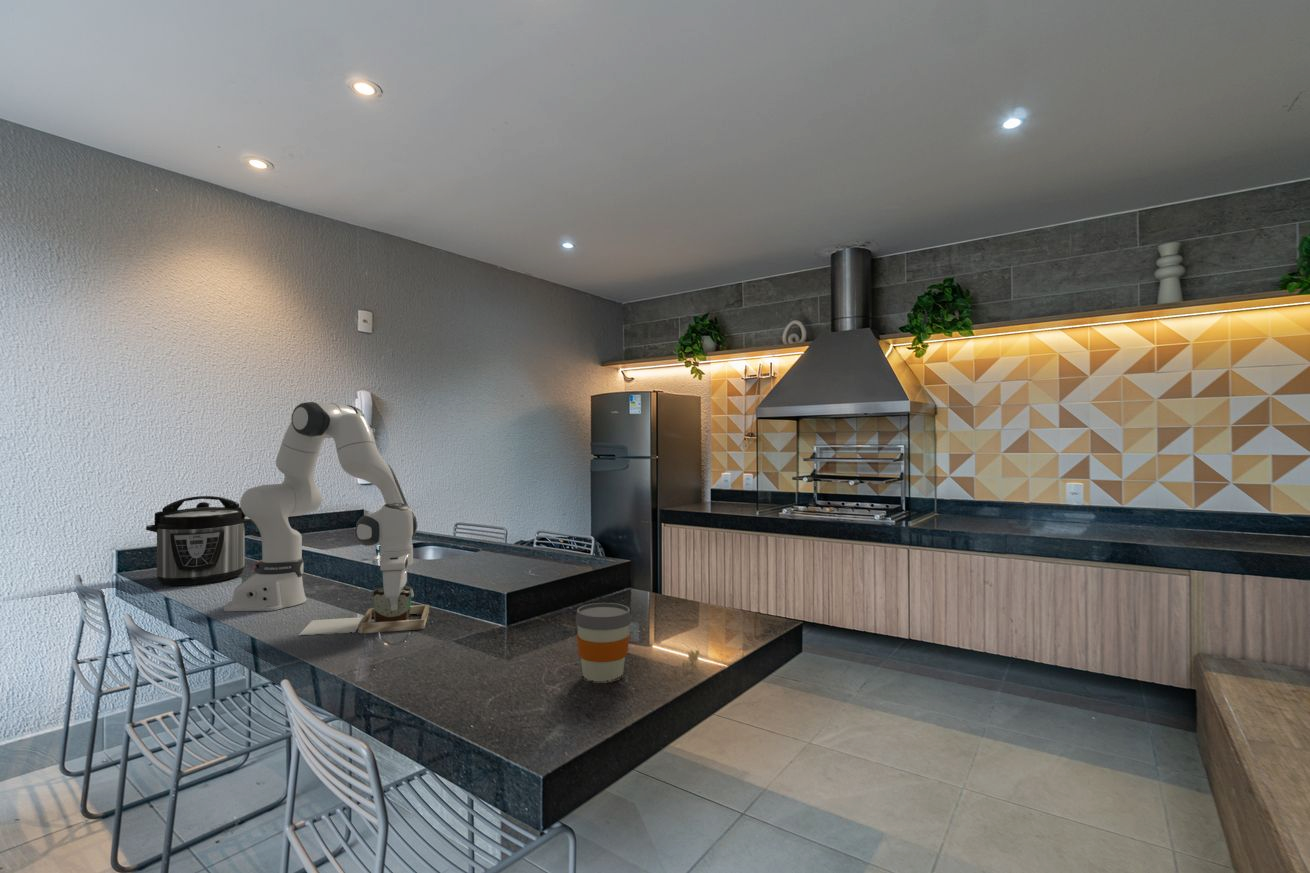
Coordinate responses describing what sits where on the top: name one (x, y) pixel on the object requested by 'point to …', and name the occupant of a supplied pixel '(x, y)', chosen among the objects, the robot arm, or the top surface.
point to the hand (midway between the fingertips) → (396, 606)
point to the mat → (332, 626)
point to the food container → (384, 606)
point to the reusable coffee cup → (603, 639)
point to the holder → (394, 625)
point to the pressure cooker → (200, 542)
